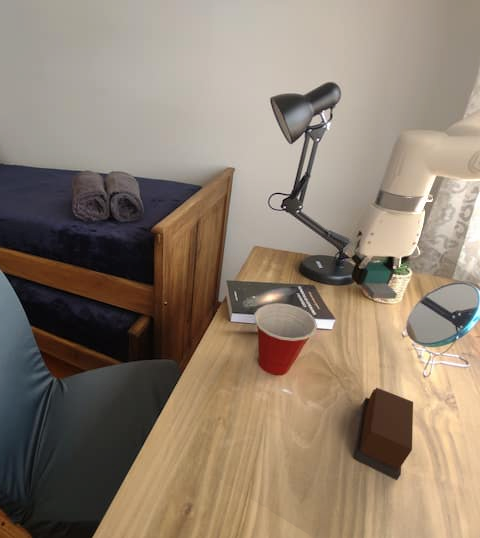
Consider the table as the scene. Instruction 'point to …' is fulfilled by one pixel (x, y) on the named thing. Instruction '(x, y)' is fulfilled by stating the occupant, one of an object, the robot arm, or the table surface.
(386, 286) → the teal block
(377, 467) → the chocolate bar chunk
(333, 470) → the table surface
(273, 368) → the plastic cup
